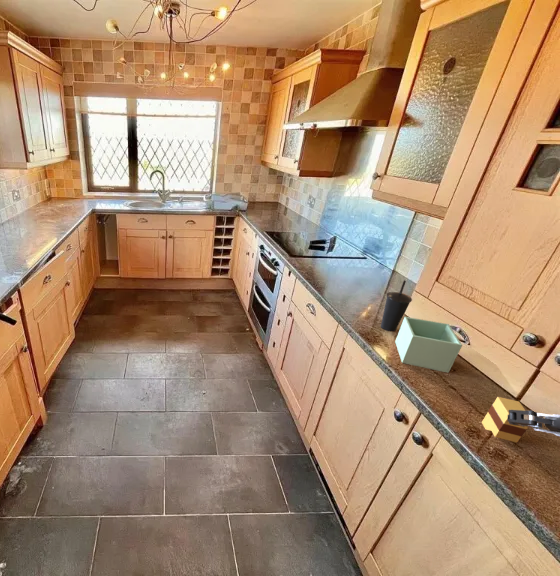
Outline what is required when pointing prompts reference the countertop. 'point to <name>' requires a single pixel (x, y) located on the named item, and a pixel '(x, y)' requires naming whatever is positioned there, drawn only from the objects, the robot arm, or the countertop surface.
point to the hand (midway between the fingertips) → (537, 425)
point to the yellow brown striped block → (503, 420)
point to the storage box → (427, 344)
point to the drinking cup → (394, 309)
